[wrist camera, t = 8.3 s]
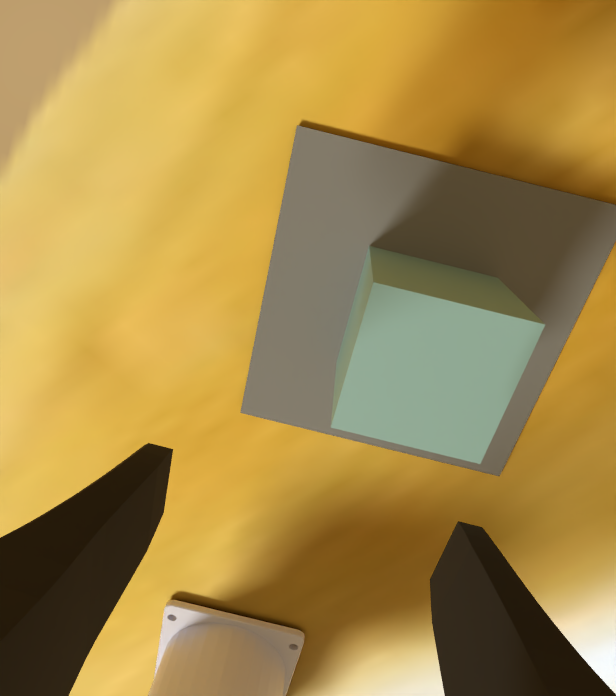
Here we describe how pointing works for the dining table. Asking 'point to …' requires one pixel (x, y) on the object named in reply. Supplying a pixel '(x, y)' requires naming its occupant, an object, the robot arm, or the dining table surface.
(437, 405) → the teal cube
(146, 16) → the dining table surface
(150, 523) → the robot arm
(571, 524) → the dining table surface
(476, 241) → the pad
